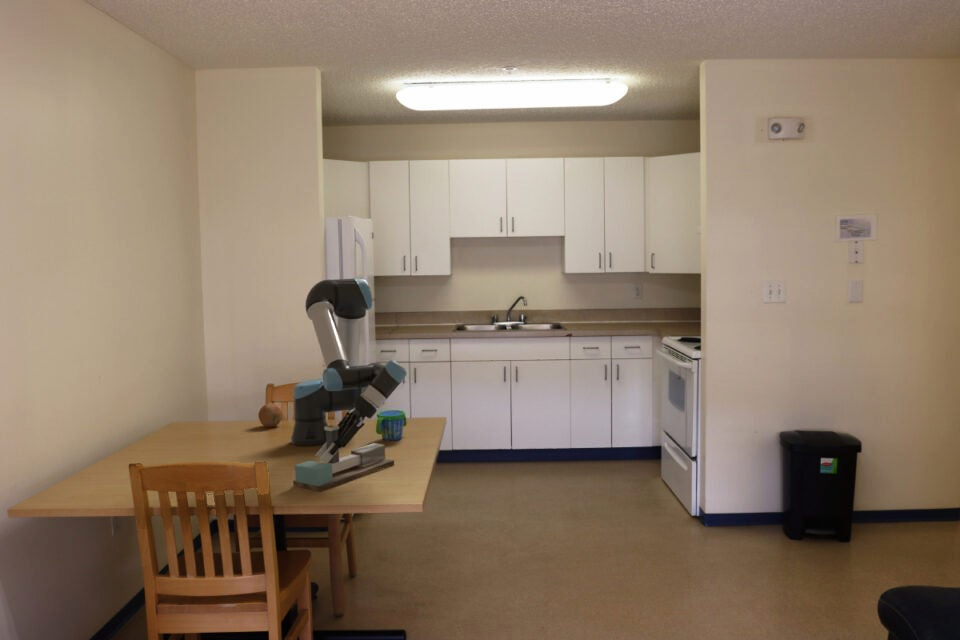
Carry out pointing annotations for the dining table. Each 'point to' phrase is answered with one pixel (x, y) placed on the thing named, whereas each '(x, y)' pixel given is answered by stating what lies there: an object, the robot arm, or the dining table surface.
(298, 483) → the long brown base plank
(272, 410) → the brown ball
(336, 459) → the tube
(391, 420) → the snack cup
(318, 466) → the socket
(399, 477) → the dining table surface
